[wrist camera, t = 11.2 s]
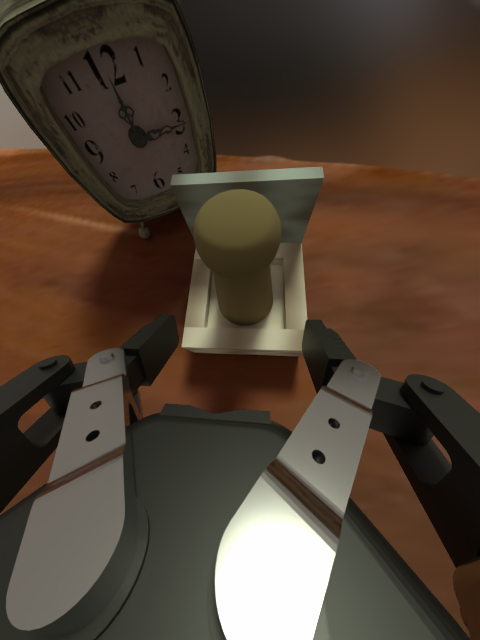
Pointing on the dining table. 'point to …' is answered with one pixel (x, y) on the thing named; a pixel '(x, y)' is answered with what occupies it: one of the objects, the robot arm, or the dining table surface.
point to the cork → (239, 252)
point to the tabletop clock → (111, 96)
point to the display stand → (286, 269)
